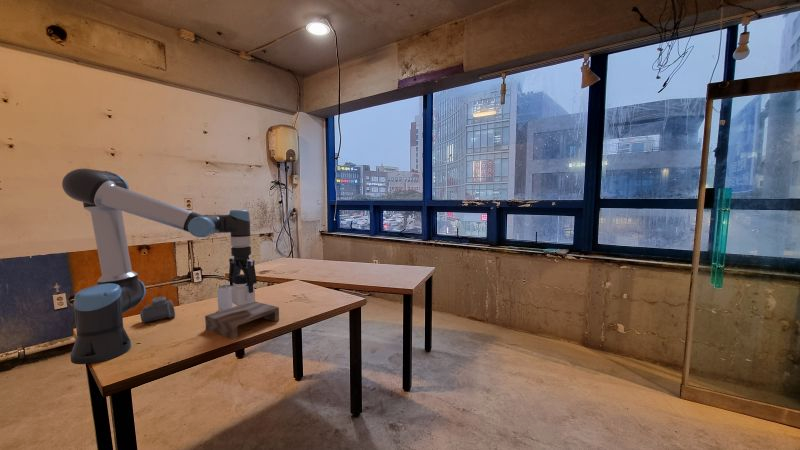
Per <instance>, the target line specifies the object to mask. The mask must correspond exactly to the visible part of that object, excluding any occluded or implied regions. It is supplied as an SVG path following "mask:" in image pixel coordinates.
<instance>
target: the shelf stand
mask: <svg viewBox="0 0 800 450" xmlns="http://www.w3.org/2000/svg"><path fill="white" fill-rule="evenodd" d="M204 317H205V321H204V322H205V330H206V331H208V332H211V333H214V334H216V335H220V336H223V337H226V338H228V339H230V340H234V339H236V338H238V326H240V325H243V324H246V323H249V322H251V321H255V320H257V319H260V318H261V319H265V320H268V321H272V322H275V323H276V322H279V320H280V307H279V306H275V305H272V304H267V303H262V302H258V301H255V302H253V303H249V304H244V305H240V306H237V305H235V306H233V307H232V308H228V309H225V310H222V311H217V312H213V313H209V314H207V315H205V316H204Z"/></svg>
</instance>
